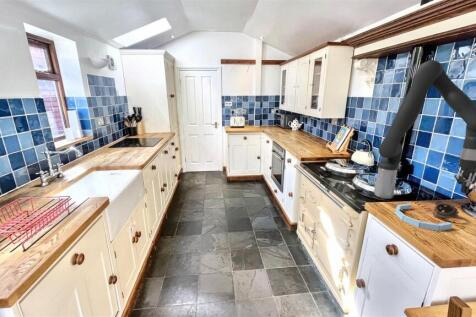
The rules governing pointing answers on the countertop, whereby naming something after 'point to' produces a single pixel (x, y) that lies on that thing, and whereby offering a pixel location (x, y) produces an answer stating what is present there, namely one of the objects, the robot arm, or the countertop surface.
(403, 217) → the collar
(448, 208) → the pottery mug
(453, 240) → the countertop surface
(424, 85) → the robot arm
